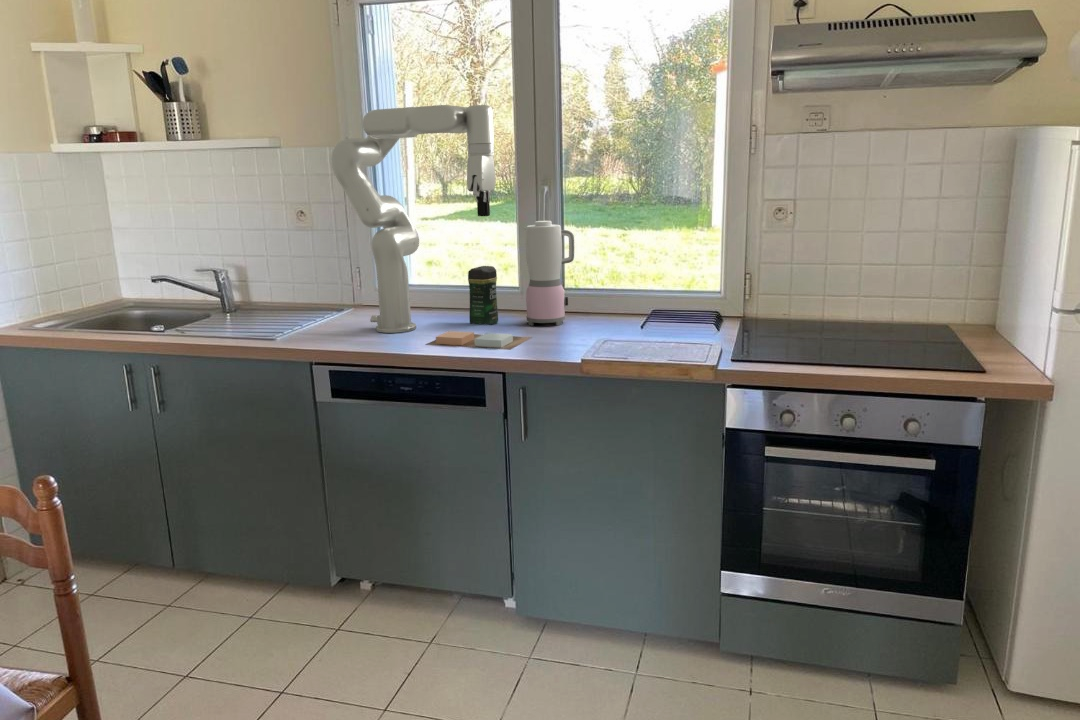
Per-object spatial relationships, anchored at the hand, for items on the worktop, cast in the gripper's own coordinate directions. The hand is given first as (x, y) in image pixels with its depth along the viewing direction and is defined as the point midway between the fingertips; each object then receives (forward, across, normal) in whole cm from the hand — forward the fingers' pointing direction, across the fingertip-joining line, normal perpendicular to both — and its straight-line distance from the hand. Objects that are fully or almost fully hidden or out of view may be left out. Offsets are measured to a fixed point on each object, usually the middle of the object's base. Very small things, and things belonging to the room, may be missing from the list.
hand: (483, 215), depth 236 cm
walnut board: (+35, +13, +3) cm, 38 cm away
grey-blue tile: (+33, +12, +9) cm, 36 cm away
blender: (+35, -21, +12) cm, 43 cm away
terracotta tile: (+33, +12, -3) cm, 35 cm away
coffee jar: (+35, -14, -8) cm, 39 cm away
